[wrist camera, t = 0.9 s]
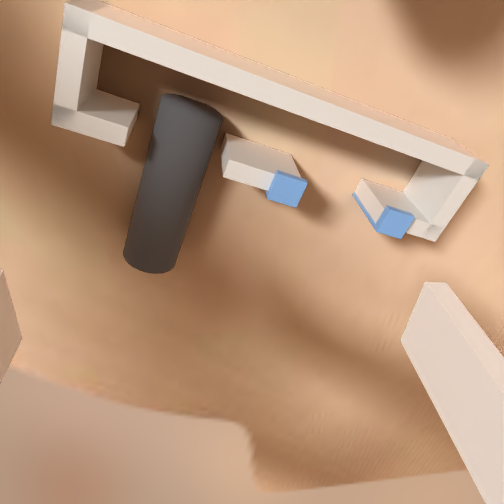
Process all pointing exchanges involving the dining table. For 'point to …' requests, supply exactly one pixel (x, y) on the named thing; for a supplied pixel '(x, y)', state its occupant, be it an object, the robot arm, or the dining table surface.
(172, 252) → the dark gray cylinder
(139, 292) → the dining table surface
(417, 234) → the white u-shaped bracket
